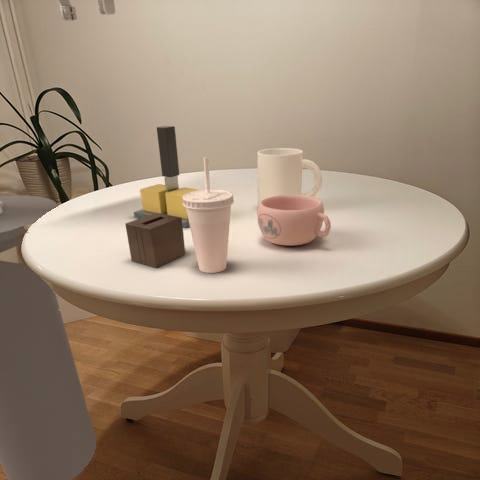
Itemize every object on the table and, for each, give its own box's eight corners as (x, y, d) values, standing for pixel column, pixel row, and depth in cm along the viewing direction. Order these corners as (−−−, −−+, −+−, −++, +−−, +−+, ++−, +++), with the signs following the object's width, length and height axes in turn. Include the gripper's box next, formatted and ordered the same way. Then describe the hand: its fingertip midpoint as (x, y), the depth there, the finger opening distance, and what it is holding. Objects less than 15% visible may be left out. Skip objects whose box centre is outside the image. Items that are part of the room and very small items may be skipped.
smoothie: (237, 258, 60) (233, 153, 53) (234, 276, 54) (230, 162, 47) (192, 258, 60) (183, 154, 53) (185, 277, 54) (173, 163, 48)
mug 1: (322, 204, 83) (326, 148, 78) (317, 216, 76) (320, 155, 71) (263, 201, 86) (263, 147, 81) (253, 212, 79) (252, 154, 74)
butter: (142, 210, 79) (139, 189, 77) (161, 204, 83) (159, 183, 81) (187, 219, 74) (185, 196, 72) (205, 212, 77) (204, 190, 75)
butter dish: (134, 217, 79) (133, 212, 79) (164, 207, 85) (163, 202, 84) (186, 228, 73) (185, 222, 72) (214, 216, 78) (214, 211, 78)
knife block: (131, 261, 60) (124, 223, 57) (161, 248, 64) (156, 212, 61) (156, 268, 57) (150, 229, 55) (185, 254, 62) (181, 217, 59)
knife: (164, 212, 78) (154, 127, 71) (175, 208, 80) (167, 125, 73) (173, 214, 77) (164, 127, 69) (184, 210, 79) (176, 126, 72)
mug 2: (244, 242, 65) (243, 204, 62) (283, 226, 72) (283, 191, 69) (309, 260, 58) (311, 218, 55) (345, 241, 64) (349, 202, 62)
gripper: (6, -92, 62) (32, 22, 69) (94, -131, 52) (114, 8, 59) (45, -82, 67) (65, 24, 74) (133, -116, 56) (148, 12, 63)
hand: (88, 17), depth 66 cm, fingers open, 8 cm apart
